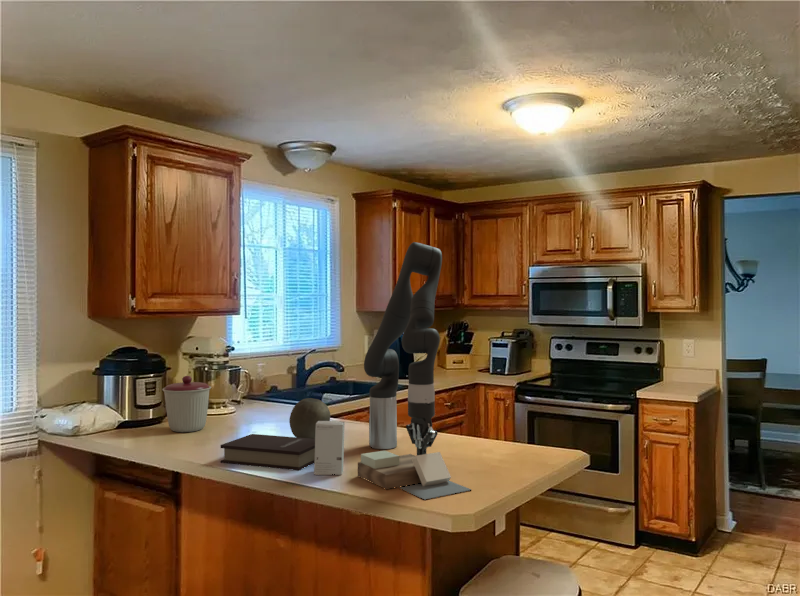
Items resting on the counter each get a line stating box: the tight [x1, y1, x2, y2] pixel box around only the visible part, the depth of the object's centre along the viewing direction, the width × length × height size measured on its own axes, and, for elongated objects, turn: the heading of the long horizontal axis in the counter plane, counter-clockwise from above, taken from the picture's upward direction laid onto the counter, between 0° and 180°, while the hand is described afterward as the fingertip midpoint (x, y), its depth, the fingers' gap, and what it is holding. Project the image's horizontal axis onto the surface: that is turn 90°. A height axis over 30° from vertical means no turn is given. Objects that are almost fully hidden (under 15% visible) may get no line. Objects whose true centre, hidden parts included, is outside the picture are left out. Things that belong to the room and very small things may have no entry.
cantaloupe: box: [289, 397, 331, 439], centre depth 238 cm, size 14×14×15 cm
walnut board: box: [357, 453, 421, 490], centre depth 188 cm, size 16×18×4 cm
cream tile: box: [412, 451, 452, 486], centre depth 182 cm, size 8×8×2 cm
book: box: [220, 433, 315, 471], centre depth 211 cm, size 28×20×6 cm
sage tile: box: [360, 449, 400, 469], centre depth 188 cm, size 8×8×2 cm
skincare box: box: [313, 420, 345, 476], centre depth 194 cm, size 8×6×15 cm
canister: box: [162, 375, 212, 433], centre depth 258 cm, size 18×18×21 cm
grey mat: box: [399, 480, 472, 501], centre depth 177 cm, size 12×15×1 cm
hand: (421, 461), depth 186 cm, fingers closed
